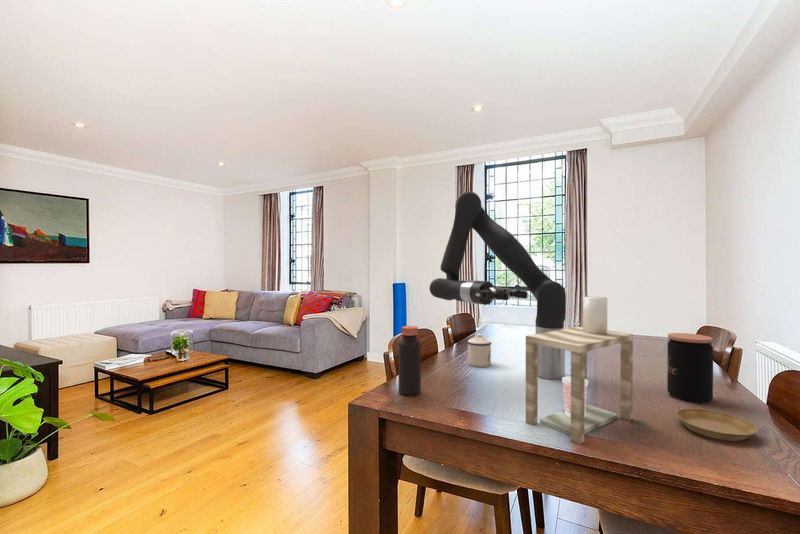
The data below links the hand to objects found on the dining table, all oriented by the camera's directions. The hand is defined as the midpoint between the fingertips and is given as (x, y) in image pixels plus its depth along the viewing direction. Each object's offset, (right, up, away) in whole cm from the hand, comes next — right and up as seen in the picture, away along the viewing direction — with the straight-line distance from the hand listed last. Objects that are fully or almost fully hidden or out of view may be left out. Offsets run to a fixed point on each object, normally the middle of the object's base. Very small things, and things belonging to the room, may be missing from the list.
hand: (517, 295), depth 111 cm
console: (+11, -30, -15) cm, 36 cm away
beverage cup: (+10, -29, -15) cm, 34 cm away
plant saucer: (+40, -31, -21) cm, 55 cm away
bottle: (-31, -30, +6) cm, 44 cm away
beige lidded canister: (-3, -30, +39) cm, 49 cm away
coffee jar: (+51, -30, +1) cm, 59 cm away
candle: (+17, -9, -12) cm, 22 cm away
